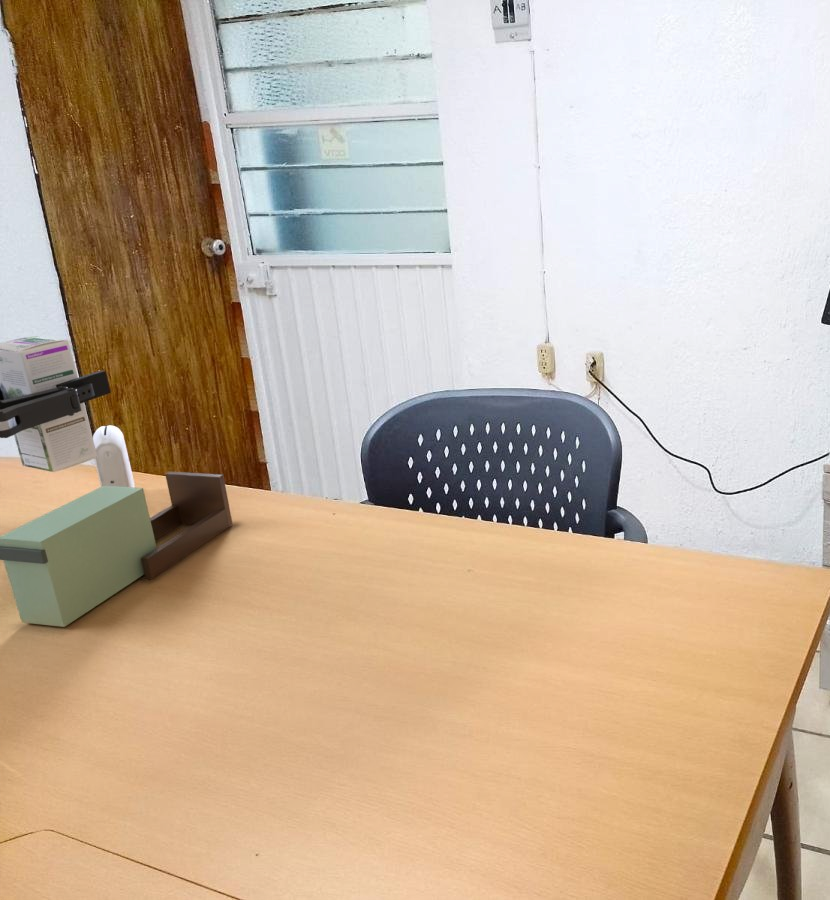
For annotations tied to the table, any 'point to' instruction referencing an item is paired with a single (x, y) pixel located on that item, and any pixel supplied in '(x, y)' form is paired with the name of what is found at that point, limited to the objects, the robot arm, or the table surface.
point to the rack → (188, 518)
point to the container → (78, 554)
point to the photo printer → (112, 458)
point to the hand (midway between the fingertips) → (80, 380)
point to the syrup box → (42, 369)
